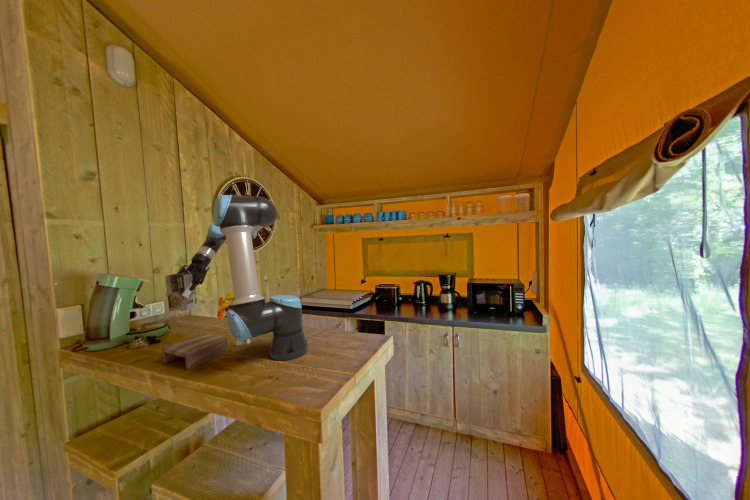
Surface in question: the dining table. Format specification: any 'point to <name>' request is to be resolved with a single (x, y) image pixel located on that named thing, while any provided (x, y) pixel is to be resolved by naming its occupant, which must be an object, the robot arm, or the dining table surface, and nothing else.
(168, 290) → the coffee box
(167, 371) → the dining table surface
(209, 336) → the walnut shelf
